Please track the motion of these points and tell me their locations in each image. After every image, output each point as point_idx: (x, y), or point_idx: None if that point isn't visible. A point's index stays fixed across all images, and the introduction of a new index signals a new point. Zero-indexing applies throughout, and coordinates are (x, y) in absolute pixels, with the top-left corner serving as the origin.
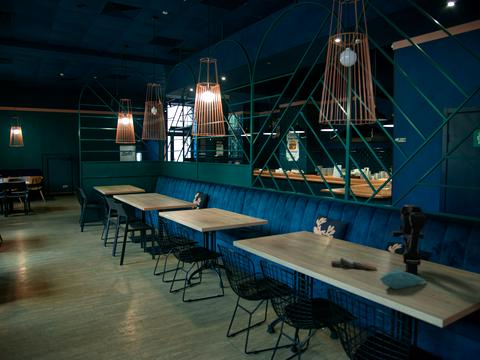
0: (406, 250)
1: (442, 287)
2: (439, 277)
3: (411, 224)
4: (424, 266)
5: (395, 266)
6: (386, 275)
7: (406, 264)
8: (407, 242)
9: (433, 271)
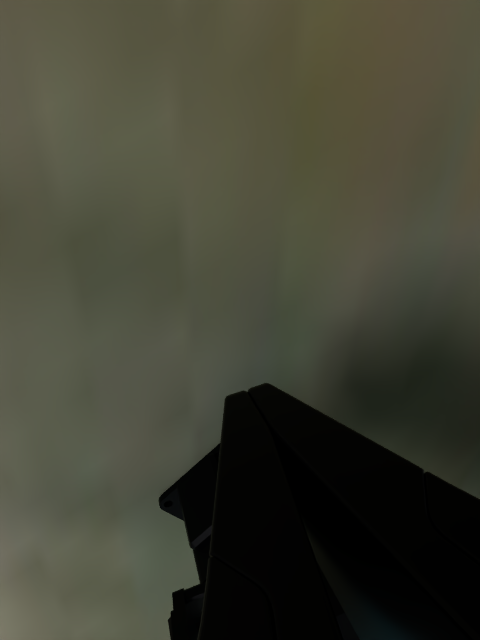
0: None
1: None
2: (440, 432)
3: None
4: (403, 114)
5: (23, 345)
6: None
7: (199, 564)
8: (350, 531)
9: (446, 289)
